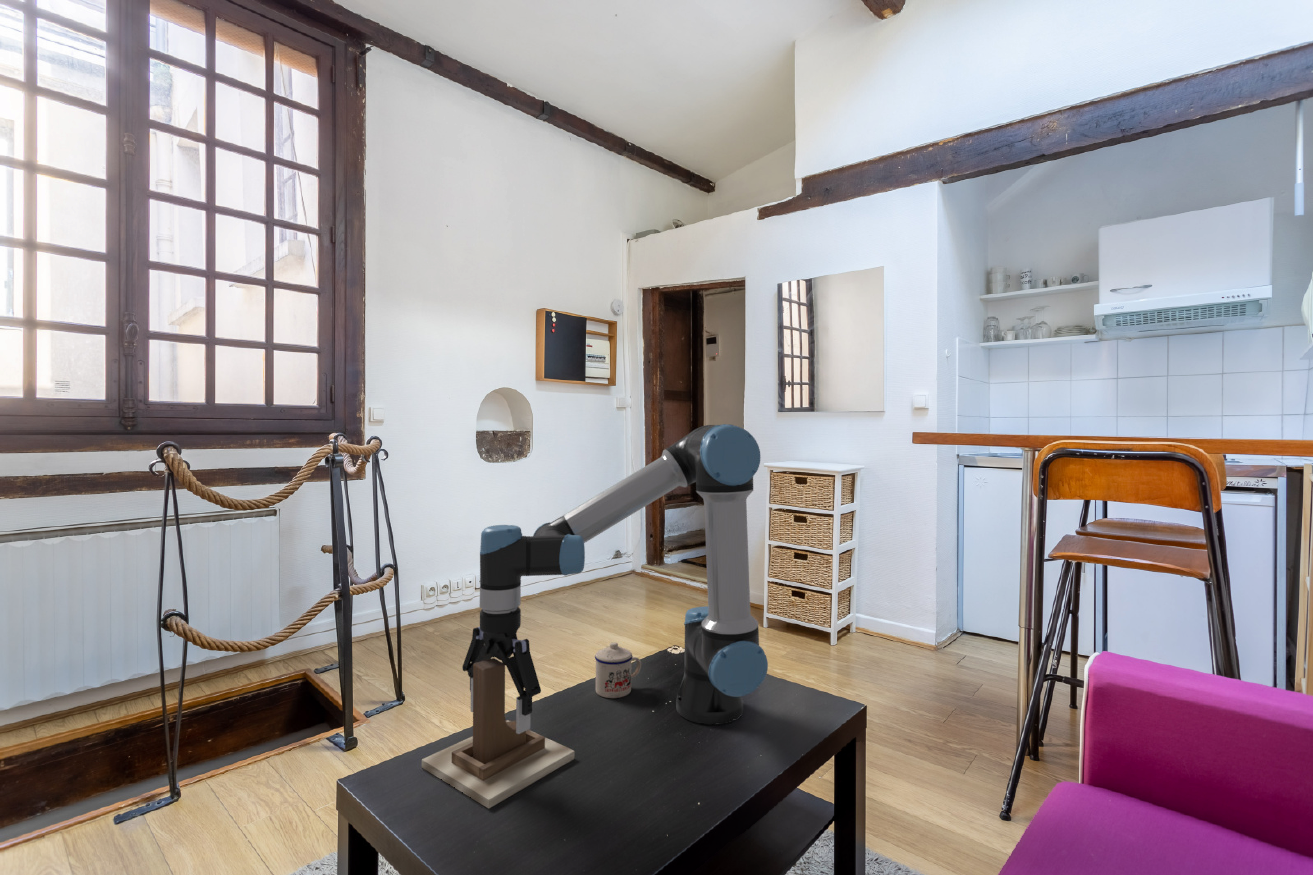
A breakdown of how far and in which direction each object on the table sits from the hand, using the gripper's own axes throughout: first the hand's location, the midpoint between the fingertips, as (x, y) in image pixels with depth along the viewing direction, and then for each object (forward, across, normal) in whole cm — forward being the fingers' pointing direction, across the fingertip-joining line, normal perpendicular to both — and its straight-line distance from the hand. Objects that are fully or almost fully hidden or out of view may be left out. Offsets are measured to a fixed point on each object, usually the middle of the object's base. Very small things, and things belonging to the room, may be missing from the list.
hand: (499, 720), depth 116 cm
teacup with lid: (+8, +4, -39) cm, 40 cm away
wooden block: (+7, 0, 0) cm, 7 cm away
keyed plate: (+8, 0, 0) cm, 8 cm away
